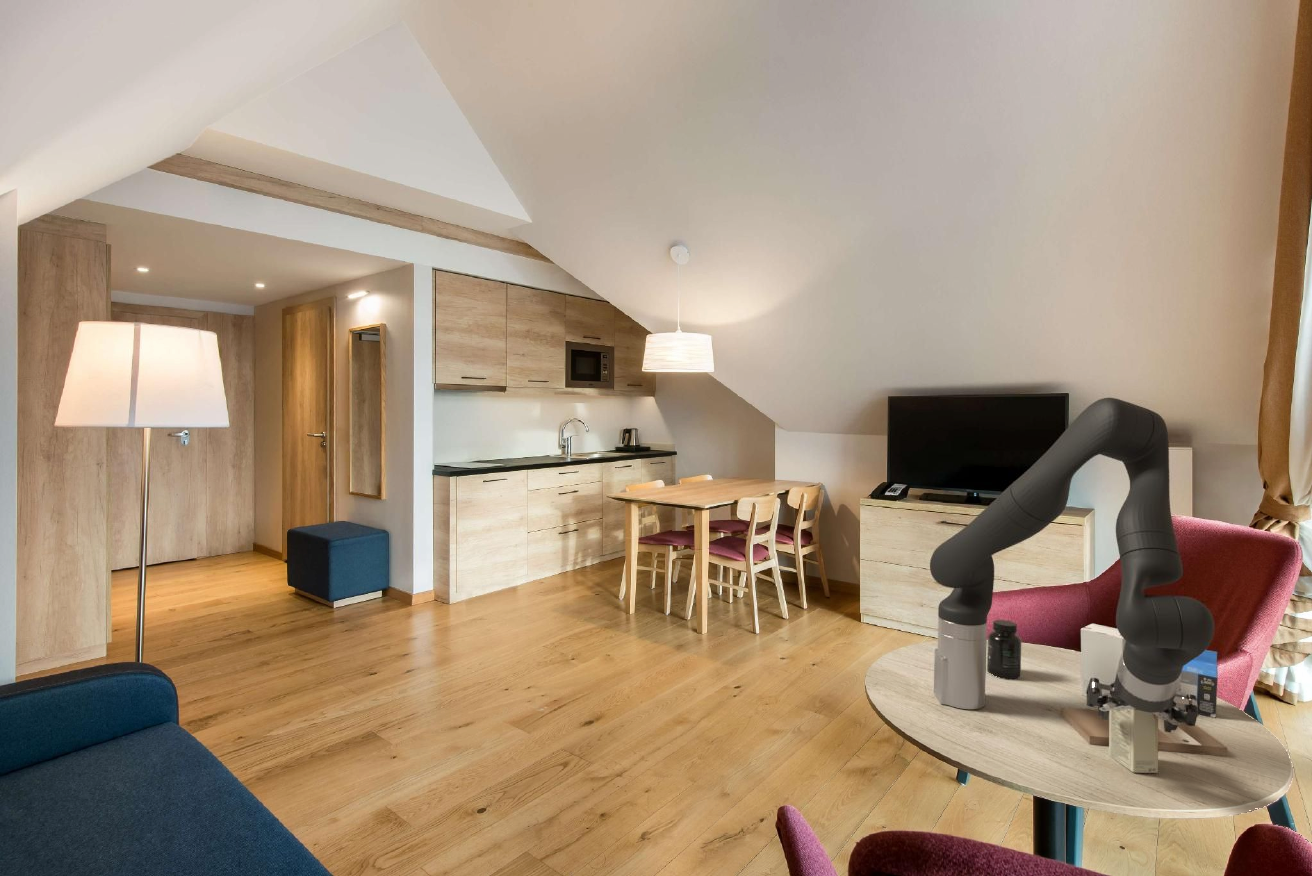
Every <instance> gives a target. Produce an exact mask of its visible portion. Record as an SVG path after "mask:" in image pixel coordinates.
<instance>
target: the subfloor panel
mask: <svg viewBox="0 0 1312 876" xmlns="http://www.w3.org/2000/svg"><path fill="white" fill-rule="evenodd" d="M1060 716H1062V718H1063V719H1064V720H1065V721H1066V722H1067V723H1069V725H1070V726H1071V727H1072V728H1073V730H1075V731H1076V732H1077V733H1078V734H1079V735H1080V736H1081V737H1082V738H1083V739H1084V740H1085V741H1086V743H1088V744H1089V745H1095V746H1108V747H1109V715H1108V720H1104V719H1102V716H1099V715H1098V709H1093V708H1092V709H1090V708H1089V709H1088V708H1080V707H1079V708H1077V707H1076V708H1075V707H1067V706H1066V707H1063V706H1060ZM1158 751H1165V752H1175V753H1176V752H1177V753H1187V754H1199V755H1200V754H1201V755H1209V754H1212V755H1211V756H1220V755H1227V756H1228V747H1227V746H1226V745H1224V744H1223V743H1222V742H1220V741H1218V739H1216V738H1215V737H1213V736H1212V735H1210V734H1209V733H1208V732H1206V731H1205V730H1203V729H1202V728H1201V727H1200V726H1198V725H1196V724H1195V726H1188V725H1186V724H1185V723H1180V725H1178V727H1177V729H1176V730H1171V733H1170V732H1165V728H1164V720H1162V719H1160V718H1159V717H1158Z"/></svg>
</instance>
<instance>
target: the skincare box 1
mask: <svg viewBox="0 0 1312 876" xmlns="http://www.w3.org/2000/svg"><path fill="white" fill-rule="evenodd" d="M1125 642H1126V640H1125V639H1124V638H1123V637H1122V636H1121V634H1120V633H1119V631H1118V629H1117V627H1116V628H1115V627H1110V626H1106V625H1100V624H1096V623H1090V624H1088V625H1086V626H1084V627H1082V628H1080V650H1081V651H1080V654H1081V657H1080V658H1081V659H1080V660H1081V662H1080V663H1081V695H1082V696H1084V697H1087V694H1086V691H1087V688H1088V685H1089V682H1090V679H1091V678H1097V679H1099V683H1101V684H1105V685H1110V684H1112V683H1114V682H1115V678H1116V673H1117V668H1118V664H1119V660H1120V657H1121V655H1122V653H1123V651H1124V647H1125Z"/></svg>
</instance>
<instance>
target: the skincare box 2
mask: <svg viewBox="0 0 1312 876" xmlns="http://www.w3.org/2000/svg"><path fill="white" fill-rule="evenodd" d="M1119 703H1120V702H1119ZM1108 754H1109V755H1108V756H1110V757H1111V758H1113V759H1114V760H1115V761H1117V763H1119V764H1120V765H1122V766H1123V767H1125V768H1126V769H1127V770H1129V771H1131V772H1132V773H1142V774H1143V773H1144V774H1145V773H1147V774H1148V773H1150V774H1151V773H1153V774H1156V773H1158V772H1159V768H1158V767H1159V750H1158V716H1156V715H1155V714H1152V713H1149V712H1144V711H1140V710H1131V709H1126V710H1122V711H1115V710H1110V711H1109V746H1108Z"/></svg>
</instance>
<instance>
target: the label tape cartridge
mask: <svg viewBox="0 0 1312 876" xmlns="http://www.w3.org/2000/svg"><path fill="white" fill-rule="evenodd" d="M1218 675H1219V674H1218V652H1217V651H1214V650H1208V649H1206V650H1205V651H1204V652H1203V653H1202V654H1200V655H1199V656H1197V657H1196V658H1194V659H1193V660H1192V661H1190V662H1189V663H1187V664H1186V665H1184V666H1183V669H1182V672H1181V680H1180V687H1179V689H1178V690H1177V692H1176V695H1175V697H1178V698H1186V695H1188V694H1191V695H1195V696H1196V699H1197V707H1198V715H1203V716H1206V715H1207V716H1206V717H1210V716H1211V718H1214V717H1216V718H1217V706H1218V705H1217V701H1218V678H1219V677H1218ZM1175 707H1176V708H1178V710H1181V711H1184V710H1183V709H1181V708H1180V707H1179V706H1177V705H1176V706H1175Z"/></svg>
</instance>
